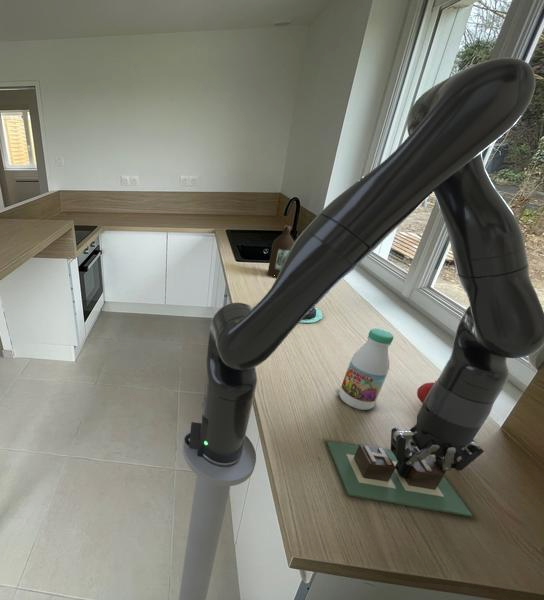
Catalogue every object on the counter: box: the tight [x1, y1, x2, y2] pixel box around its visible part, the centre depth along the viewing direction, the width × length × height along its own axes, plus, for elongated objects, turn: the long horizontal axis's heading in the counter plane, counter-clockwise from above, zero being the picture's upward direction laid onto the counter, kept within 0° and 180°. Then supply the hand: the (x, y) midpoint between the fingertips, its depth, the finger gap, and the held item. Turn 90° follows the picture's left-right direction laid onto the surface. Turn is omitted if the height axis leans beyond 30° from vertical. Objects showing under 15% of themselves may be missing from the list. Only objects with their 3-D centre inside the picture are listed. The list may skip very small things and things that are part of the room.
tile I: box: [405, 453, 445, 490], centre depth 61 cm, size 4×4×4 cm
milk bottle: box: [338, 328, 394, 411], centre depth 78 cm, size 8×8×20 cm
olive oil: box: [267, 225, 295, 278], centre depth 161 cm, size 11×11×25 cm
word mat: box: [326, 441, 473, 518], centre depth 63 cm, size 20×12×1 cm, turn 80°
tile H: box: [354, 444, 396, 482], centre depth 62 cm, size 4×4×4 cm
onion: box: [416, 380, 437, 405], centre depth 79 cm, size 6×6×8 cm
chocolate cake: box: [299, 306, 324, 324], centre depth 127 cm, size 15×19×20 cm
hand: (415, 475), depth 62 cm, fingers closed on tile I, 4 cm apart
